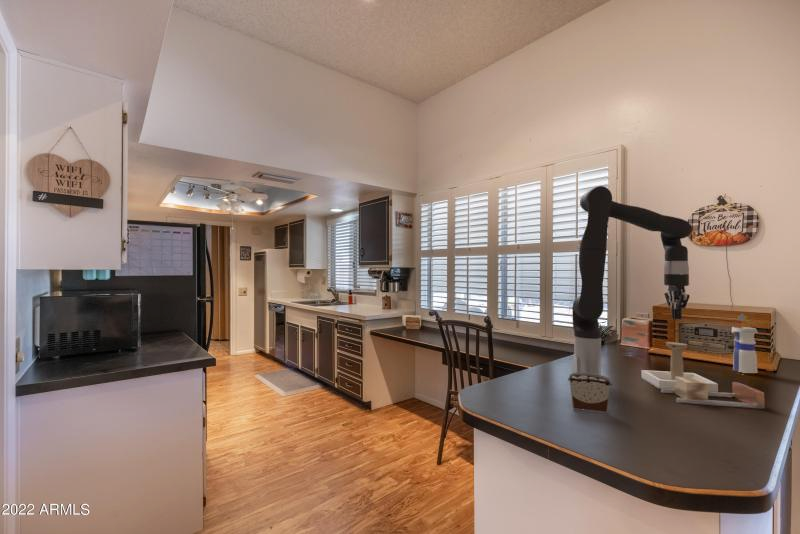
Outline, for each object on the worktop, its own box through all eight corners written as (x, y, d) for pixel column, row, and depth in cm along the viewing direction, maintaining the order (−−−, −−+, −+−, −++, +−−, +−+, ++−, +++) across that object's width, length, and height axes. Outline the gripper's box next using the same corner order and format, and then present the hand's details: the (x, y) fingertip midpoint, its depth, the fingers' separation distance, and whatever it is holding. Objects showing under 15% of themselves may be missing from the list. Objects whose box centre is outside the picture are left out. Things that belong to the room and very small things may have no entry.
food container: (608, 406, 113) (608, 374, 113) (613, 413, 107) (612, 379, 107) (565, 401, 117) (565, 370, 117) (567, 408, 111) (567, 375, 111)
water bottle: (725, 369, 158) (725, 313, 159) (747, 370, 157) (746, 313, 158) (740, 374, 150) (740, 315, 151) (763, 375, 149) (763, 315, 150)
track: (677, 402, 117) (677, 387, 117) (661, 391, 127) (661, 377, 127) (764, 408, 112) (764, 392, 112) (739, 397, 122) (739, 382, 122)
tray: (659, 389, 130) (659, 380, 130) (641, 378, 144) (641, 370, 145) (718, 393, 126) (717, 383, 127) (694, 381, 140) (694, 373, 141)
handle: (670, 380, 139) (669, 341, 140) (690, 384, 134) (689, 344, 134) (664, 382, 137) (663, 342, 137) (684, 386, 131) (683, 345, 132)
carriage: (686, 400, 118) (686, 382, 118) (675, 393, 125) (675, 376, 125) (708, 402, 117) (707, 383, 117) (695, 395, 123) (695, 377, 123)
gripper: (656, 273, 144) (656, 316, 143) (674, 273, 131) (674, 320, 130) (677, 273, 142) (678, 317, 142) (698, 273, 129) (698, 321, 129)
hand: (676, 318), depth 136 cm, fingers closed
